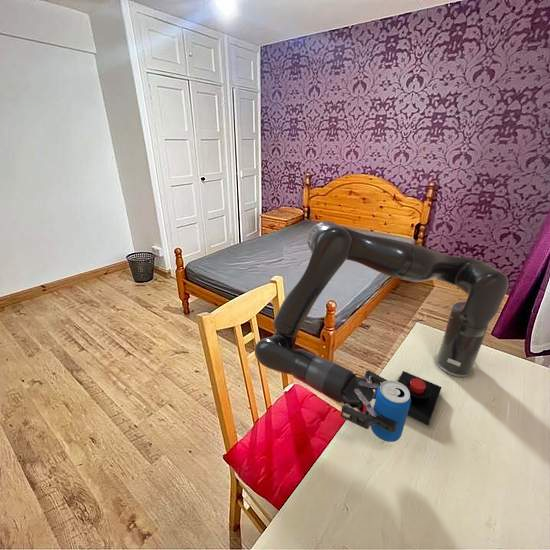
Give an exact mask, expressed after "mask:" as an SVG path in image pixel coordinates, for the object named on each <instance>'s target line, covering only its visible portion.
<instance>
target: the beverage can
mask: <svg viewBox="0 0 550 550" xmlns="http://www.w3.org/2000/svg"><path fill="white" fill-rule="evenodd" d="M387 380H388V379H387ZM410 403H411V397H410V392H409V390H408V389H407V387H406V386H404V385H403V384H401V383H399V382H398V380H392V379H391V380H390V379H389V380H388V381H385V382H383V383H381V385H380V386H379V388H378V390H377V394H376V399H374V404H373V407H372V408H373V409H374V410H375V411H376V413H377V415H378V414H381V415H383V416H385V417H387V418H389V419H391V420H393V421H395V422H396V423H397V427H396V430H395V432H392V431H391V432H389V431H387V430H385V429H383V428H381V427H380V426H378V425H376V424H372V425H371V426H370V429H371V431H372V433H373V434H374V436H375V437H377V438H378V439H380V440H382V441H384V442H387V443H394V442H397V441H399V440H400V439H401V437H402V435H403V431H404V427H405V424H406V421H407V417H408V415H407V414H408V410H409V407H410Z"/></svg>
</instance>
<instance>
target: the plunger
mask: <svg viewBox="0 0 550 550" xmlns="http://www.w3.org/2000/svg"><path fill="white" fill-rule="evenodd" d="M409 387H410V389H411V391H413V392H415V393H417V394H422V393H424V391H425V387H426V384H425V383H424V382H423V381H422V380H420V379H417V378H414V379H412V380H411V382H410V386H409Z"/></svg>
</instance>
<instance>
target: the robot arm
mask: <svg viewBox="0 0 550 550" xmlns="http://www.w3.org/2000/svg"><path fill="white" fill-rule="evenodd" d="M306 241H307V246H308V248H309V250H310V252H311V255H310V258H309V261H308V264H307V266H306V269H305V271H304V273H303V274H302V276H301V277H300V279H299V280H298V282H297V283H296V284H295V285H294V286H293V287H292V289H291V290H290V291H289V292H288V293H287V295H286V296H285V298H284V299H283V301H282V304H281V305H280V306H279V309H278V310H277V313H276V314H275V316H274V319H273V323H272V324H273V328H274V333H273V335H271V336H267V337H264V338H262V339H260V340H259V341H258V342H256V344H255V345H254V356H255V359H256V360H257V362H258V363H260V365H262V366H263V367H265V368H267V369H270V370H273V371H276V372H278V373H282V374H284V375H285V374H286V375H288V376H289V375H290V376H292V377H294V378H296V379H297V380H299V381H301V382H302V383H304V384H306V385H307V386H309V387H310V388H312V389H313V390H315V391H317V392H319V393H320V394H322V395H324V396H326V397H327V398H330V399H331V400H332V401H335V402H337V403H338V404H342V403H343V405H342V406H341V409H340V411H341V412H340V418H343V419H344V420H347V421H349V422H350V423H352V424H354V425H357V426H359V427H361V428H363V429H365V430H369V429H370V427H371V425H372V424H376V425H378V426H380V427H381V428H383V429H385V430H387V431H389V432H391V431H392V432H395V430H396V427H397V423H396V422H395V421H393V420H391V419H389V418H387V417H385V416H383V415H381V414H378V415H377V413H376V411H375V410H374V409H373V408H374V407H372V404H371V402H372V401H373V400H375V399H376V394H377V390H378V388H379V386H380V385H381V384H382V383H383V382H385V381H388V379H386V378H384V377H382V376H380V375H379V374H377V373H375V372H373V371H371V370H369V369H367V370H366V371H365V373H364V375H363V376H362V377H361V376H357V375H356V374H354V372H353V371H352V370H350V369H348V368H346V367H344V366H341V365H340V364H337V363H336V362H333V361H331V360H329V359H327V358H324V357H321V356H318V355H317V354H314V353H312V352H310V351H308V350H306V349H302V348H295V346H296V342H297V338H298V334H299V332H300V330H301V328H302V327H303V325H304V323H305V321H306V319H307V317H308V316H309V314H310V312H311V310H312V308H313V306H314V305H315V303H316V302H317V300H318V299H319V297H320V295H321V294H322V292H323V291H324V290H325V288H326V287H327V285H328V284H329V283H330V281H331V280H332V278H333V277H334V276H335V274H336V273H337V272H338V271H339V269H340V268H341V267H342V266H343V264H345V262H346V261H350V262H355V263H358V264H361V265H362V266H365V267H366V268H368V269H371V270H373V271H376V272H378V273H381V274H383V275H386V276H388V277H391V278H395V279H398V280H403V281H406V282H411V283H423V282H427V281H434V280H435V281H440V282H443V283H447V284H449V285H451V286H454V287H457V288H458V289H459V290H461V291H462V292H463V293H464V294H465V295H467V299H466V301H459V302H456V303H454V304H453V306H451V310H450V313H449V317H448V319H447V324H446V328H445V331H444V333H443V337H442V341H441V343H440V347H439V351H438V354H437V356H436V360H435V362H436V365H437V366H438V368H439V369H440V370H441V371H443V372H444V373H446V374H448V375H450V376H453V377H457V378H467V377H469V376H470V375H471V374H472V372H473V368H474V365H475V363H476V360H477V357H478V354H479V353H480V350H481V347H482V344H483V341H484V338H485V336H486V332H487V330H488V327H489V325H490V323H491V321H492V320H493V318H495V316H496V315H497V314H498V311H499V309H500V307H501V305H502V303H503V300H504V299H505V297H506V294H507V291H508V288H509V278H508V276H507V275H506V273H504V272H502V271H501V270H499V269H498V268H496V267H494V266H493V265H491V264H490V263H488V262H486V261H484V260H482V259H477V258H470V257H462V256H455V255H449V254H446V253H443V252H441V251H438V250H436V249H431V248H428V247H426V246H422V245H418V244H415V243H411V242H407V241H402V240H398V239H393V238H388V237H382V236H376V235H370V234H367V233H366V234H365V233H362V232H358V231H356V230H354V229H350V228H347V227H345V226H342V225H340V224H338V223H336V222H334V221H330V220H329V221H321V222H318V223H316V224H314V225H313V226H312V227H311V228H310V229H309V231H308V233H307V236H306Z"/></svg>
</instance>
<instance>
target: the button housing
mask: <svg viewBox="0 0 550 550" xmlns="http://www.w3.org/2000/svg"><path fill="white" fill-rule="evenodd" d="M414 378H417V379H420V380H422V381H423V382H424V383H425V384H426V387H425V391H424V393H422V394H417V393H415V392H413V391H411V389H410V387H409V386H410V382H411V380H412V379H414ZM397 382H399V383H401V384H403V385H404V386H406V387H407V389H408V390H409V392H410V397H411V403H410V407H409V410H408V414H407V417H409V418H412V419H413V420H415V421H418V422H420V423H421V424H424V425H426V426H427V427H428V426H430V424H431V420H432V417H433V414H434V411H435V408H436V406H437V402H438V400H439V397H440V394H441V390H442V386H440V385H437V384H436V383H433V382H431V381H428V380H426V379H424V378H422V377H419V376H417V375H414V374H413V373H410V372H408V371H405V370H402V372H401V374H400V376H399V378H398V379H397Z"/></svg>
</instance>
